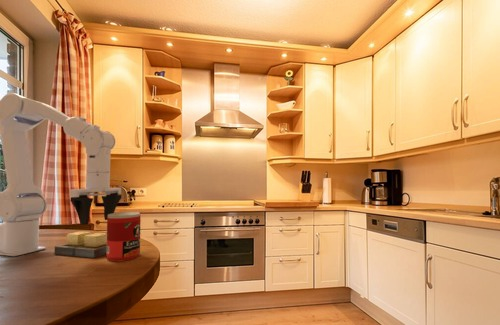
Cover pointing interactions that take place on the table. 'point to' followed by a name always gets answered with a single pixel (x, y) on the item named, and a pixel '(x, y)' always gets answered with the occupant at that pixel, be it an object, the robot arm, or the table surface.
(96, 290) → the table surface
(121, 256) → the canned food
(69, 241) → the grey open box
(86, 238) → the honey wood cube
